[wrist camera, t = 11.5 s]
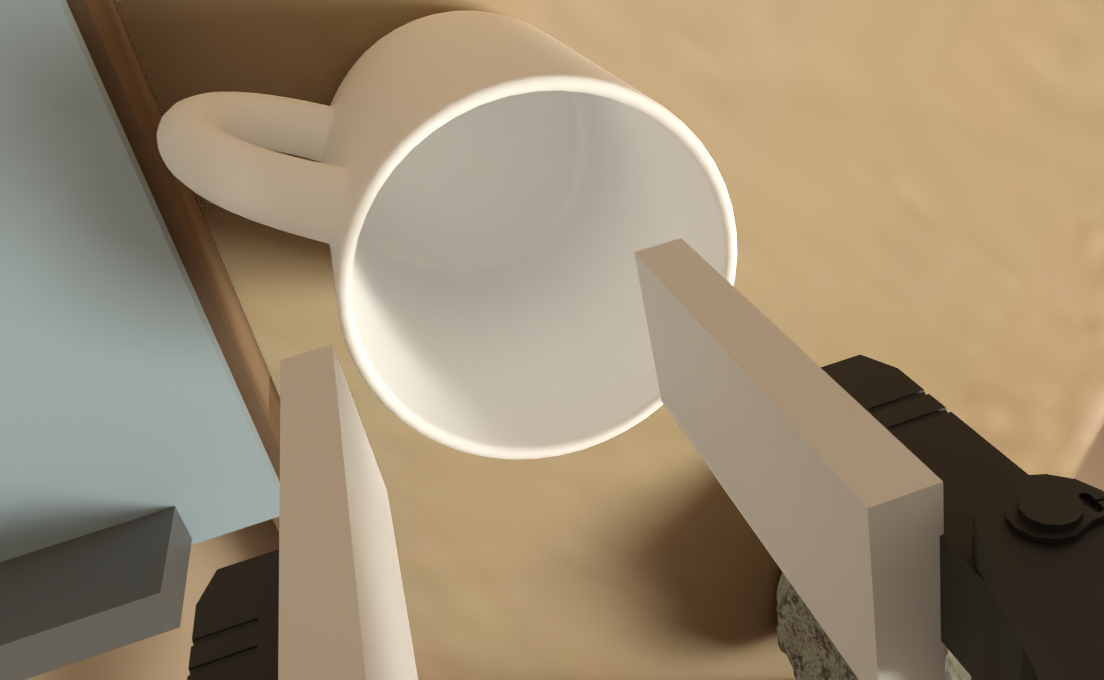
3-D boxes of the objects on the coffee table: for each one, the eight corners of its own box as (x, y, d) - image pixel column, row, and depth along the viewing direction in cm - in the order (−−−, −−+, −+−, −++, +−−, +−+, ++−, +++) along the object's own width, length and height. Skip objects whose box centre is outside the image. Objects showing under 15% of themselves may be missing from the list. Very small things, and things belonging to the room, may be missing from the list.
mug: (154, 219, 27) (89, 398, 18) (211, -87, 24) (167, -60, 15) (547, 306, 31) (655, 485, 22) (636, 55, 28) (802, 143, 19)
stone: (884, 758, 29) (1109, 787, 33) (893, 440, 32) (1097, 498, 36) (707, 721, 37) (902, 747, 41) (729, 472, 41) (907, 516, 44)
